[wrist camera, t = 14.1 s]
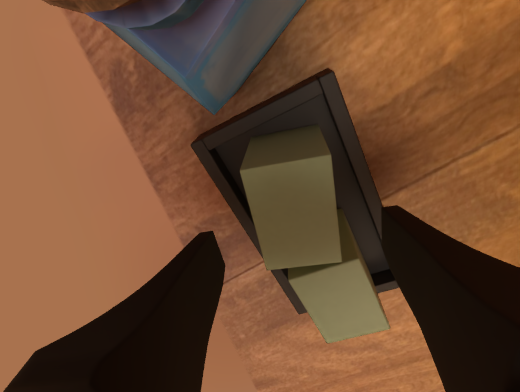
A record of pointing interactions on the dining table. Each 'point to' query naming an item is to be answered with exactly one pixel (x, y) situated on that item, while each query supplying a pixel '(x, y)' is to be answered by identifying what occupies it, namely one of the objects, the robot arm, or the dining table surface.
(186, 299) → the robot arm
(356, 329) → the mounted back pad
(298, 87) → the frame
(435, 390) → the dining table surface
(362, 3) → the dining table surface
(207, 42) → the perfume bottle
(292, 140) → the olive boxy piece
